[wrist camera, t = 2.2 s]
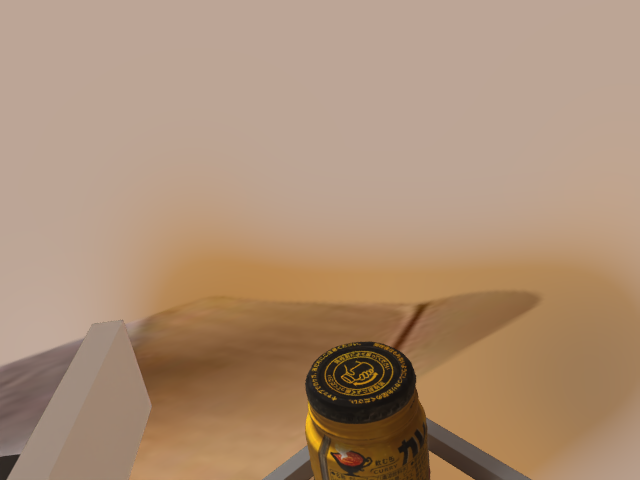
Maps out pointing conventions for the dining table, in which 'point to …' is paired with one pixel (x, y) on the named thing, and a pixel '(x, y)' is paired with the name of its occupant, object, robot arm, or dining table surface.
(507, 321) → the dining table surface
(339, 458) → the yellow cylindrical jar
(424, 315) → the dining table surface
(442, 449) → the square collar
